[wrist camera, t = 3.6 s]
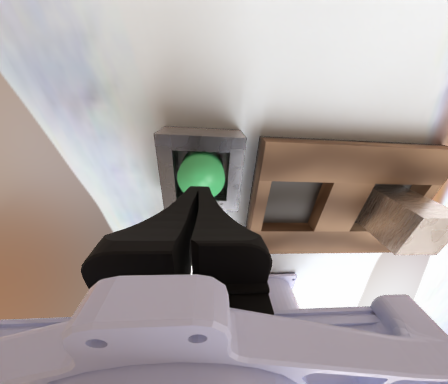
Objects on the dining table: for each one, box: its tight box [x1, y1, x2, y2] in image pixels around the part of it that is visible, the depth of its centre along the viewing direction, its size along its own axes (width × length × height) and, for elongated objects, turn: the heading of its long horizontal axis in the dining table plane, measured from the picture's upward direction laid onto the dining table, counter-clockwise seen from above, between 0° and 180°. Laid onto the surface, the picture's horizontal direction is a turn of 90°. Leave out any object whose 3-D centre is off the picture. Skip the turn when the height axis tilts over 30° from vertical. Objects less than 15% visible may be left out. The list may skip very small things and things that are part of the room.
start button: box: [177, 151, 225, 197], centre depth 16 cm, size 4×4×3 cm
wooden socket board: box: [246, 136, 448, 254], centre depth 20 cm, size 14×20×2 cm
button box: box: [154, 126, 247, 212], centre depth 16 cm, size 7×7×4 cm
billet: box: [355, 186, 448, 255], centre depth 18 cm, size 4×4×6 cm
